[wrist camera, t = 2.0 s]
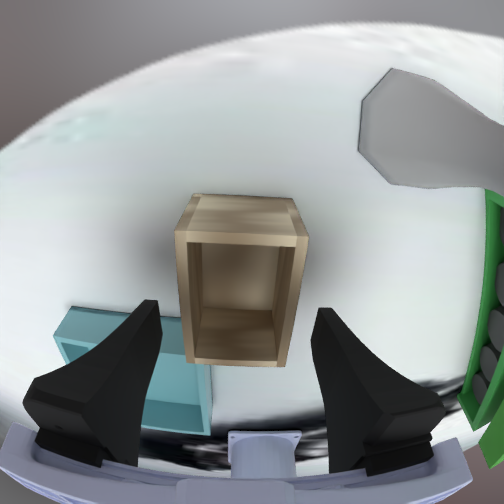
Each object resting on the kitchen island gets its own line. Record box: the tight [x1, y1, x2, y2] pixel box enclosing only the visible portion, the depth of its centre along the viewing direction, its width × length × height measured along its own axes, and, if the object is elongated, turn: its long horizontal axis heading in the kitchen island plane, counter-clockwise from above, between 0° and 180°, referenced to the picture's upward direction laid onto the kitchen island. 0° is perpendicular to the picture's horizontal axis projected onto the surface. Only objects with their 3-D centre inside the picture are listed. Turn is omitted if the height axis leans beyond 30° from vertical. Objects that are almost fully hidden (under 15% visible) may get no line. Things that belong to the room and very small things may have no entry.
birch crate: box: [174, 194, 309, 367], centre depth 16 cm, size 6×8×5 cm
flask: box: [359, 68, 504, 197], centre depth 10 cm, size 7×7×10 cm
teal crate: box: [53, 306, 213, 435], centre depth 22 cm, size 11×11×4 cm
